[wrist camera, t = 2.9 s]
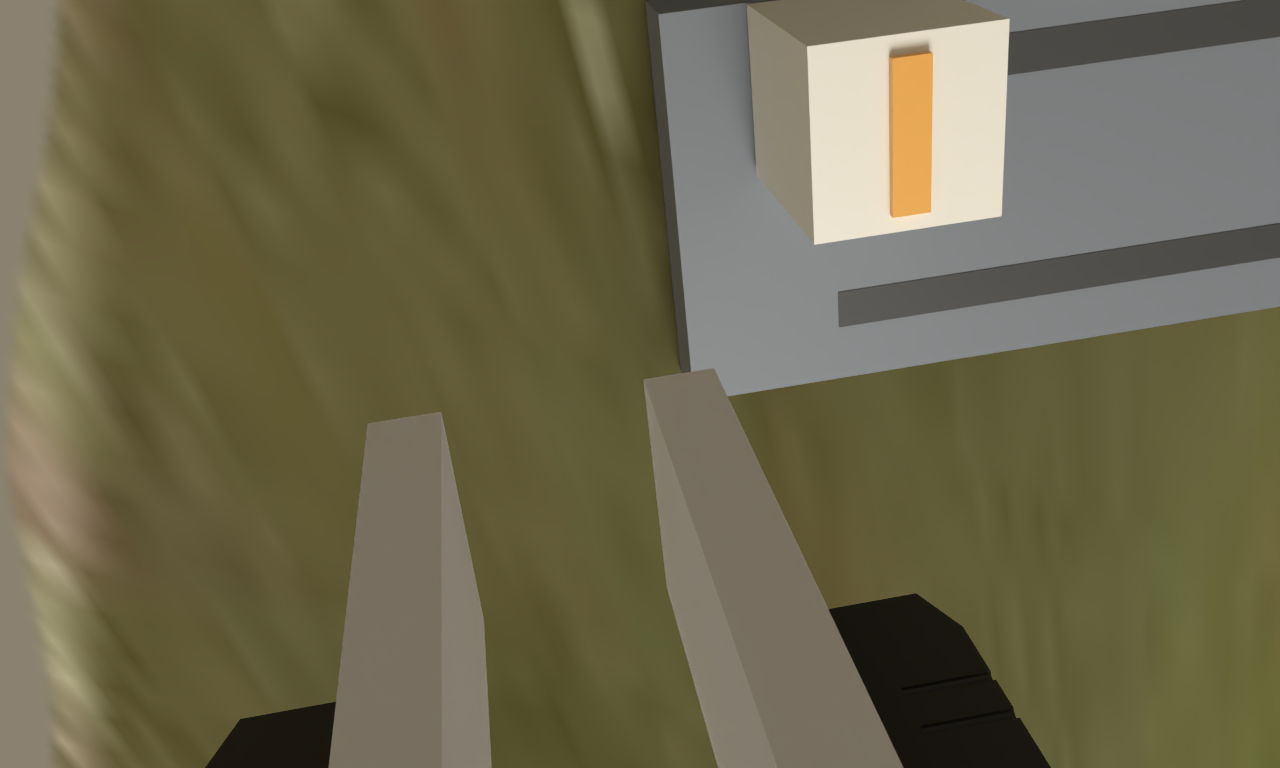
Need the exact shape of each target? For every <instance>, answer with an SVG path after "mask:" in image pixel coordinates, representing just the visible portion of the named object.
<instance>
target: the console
mask: <svg viewBox="0 0 1280 768" xmlns="http://www.w3.org/2000/svg"><path fill="white" fill-rule="evenodd" d="M768 1H775V0H645V7H646V17H647V28H648V38H649V49H650V59H651V69H652V80H653V90H654V100H655V111H656V121H657V131H658V142H659V152H660V163H661V173H662V183H663V194H664V204H665V214H666V225H667V235H668V245H669V256H670V266H671V277H672V287H673V297H674V308H675V318H676V328H677V339H678V349H679V359H680V369H681V372H682V373H687V372H693V371H699V370H705V369H712V368H714V369H715V371H716V374H717V376H718V378H719V380H720V382H721V384H722V386H723V388H724V390H725V392H726V395H727V396H732V395H738V394H744V393H750V392H757V391H763V390H769V389H775V388H781V387H787V386H793V385H800V384H806V383H812V382H818V381H824V380H830V379H837V378H843V377H849V376H855V375H861V374H867V373H873V372H880V371H886V370H892V369H898V368H904V367H910V366H916V365H923V364H929V363H935V362H941V361H947V360H953V359H960V358H966V357H972V356H978V355H984V354H990V353H996V352H1003V351H1009V350H1015V349H1021V348H1027V347H1033V346H1040V345H1046V344H1052V343H1058V342H1064V341H1070V340H1076V339H1083V338H1089V337H1095V336H1101V335H1107V334H1113V333H1119V332H1126V331H1132V330H1138V329H1144V328H1150V327H1156V326H1163V325H1169V324H1175V323H1181V322H1187V321H1193V320H1199V319H1206V318H1212V317H1218V316H1224V315H1230V314H1236V313H1242V312H1249V311H1255V310H1261V309H1267V308H1273V307H1279V306H1280V0H964V1H967V2H969V3H972V4H974V5H977V6H979V7H982V8H984V9H987V10H989V11H992V12H994V13H997V14H999V15H1002V16H1004V17H1007V18H1009V19H1010V22H1009V47H1008V72H1007V97H1006V121H1005V146H1004V171H1003V196H1002V216H1000V217H994V218H987V219H981V220H974V221H967V222H961V223H954V224H948V225H941V226H935V227H928V228H922V229H915V230H908V231H902V232H895V233H889V234H882V235H876V236H869V237H862V238H856V239H849V240H843V241H836V242H830V243H823V244H816V245H814V244H813V243H812V241H811V240H810V239H809V238H808V237H807V235H806V234H805V233H804V232H803V230H802V229H801V228H800V227H799V226H798V224H797V223H796V222H795V221H794V220H793V218H792V217H791V216H790V215H789V213H788V212H787V211H786V210H785V209H784V207H783V206H782V205H781V204H780V203H779V201H778V200H777V199H776V198H775V196H774V195H773V194H772V193H771V192H770V190H769V189H768V188H767V187H766V186H765V184H764V183H763V182H762V181H761V179H760V178H759V177H758V176H757V173H756V156H755V138H754V121H753V104H752V87H751V70H750V53H749V36H748V19H747V4H753V3H760V2H768Z"/></svg>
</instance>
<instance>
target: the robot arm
mask: <svg viewBox="0 0 1280 768" xmlns="http://www.w3.org/2000/svg"><path fill="white" fill-rule="evenodd" d="M643 380H644V389H645V397H646V406H647V415H648V424H649V433H650V442H651V450H652V459H653V468H654V477H655V486H656V495H657V504H658V512H659V521H660V530H661V539H662V548H663V557H664V565H665V574H666V583H667V590H668V593H669V597H670V600H671V604H672V607H673V611H674V614H675V618H676V621H677V625H678V628H679V632H680V635H681V639H682V642H683V646H684V649H685V653H686V656H687V660H688V663H689V667H690V670H691V674H692V677H693V681H694V684H695V688H696V691H697V695H698V698H699V702H700V705H701V709H702V713H703V716H704V720H705V723H706V727H707V730H708V734H709V737H710V741H711V744H712V748H713V751H714V755H715V758H716V762H717V765H718V768H1051V767H1050V766H1049V764H1048V762H1047V761H1046V759H1045V758H1044V756H1043V754H1042V753H1041V751H1040V750H1039V748H1038V746H1037V745H1036V743H1035V742H1034V740H1033V738H1032V737H1031V735H1030V734H1029V732H1028V730H1027V729H1026V727H1025V726H1024V724H1023V722H1022V721H1021V719H1020V718H1016V716H1015V714H1014V708H1013V706H1012V705H1011V703H1010V702H1009V700H1008V698H1007V697H1006V695H1005V694H1004V692H1003V690H1002V689H1001V687H1000V686H999V684H998V682H997V681H996V680H992V677H991V671H990V670H989V668H988V666H987V665H986V663H985V662H984V660H983V658H982V657H981V655H980V654H979V652H978V650H977V649H976V647H975V646H974V644H973V642H972V641H971V639H970V638H969V636H968V634H967V633H966V631H965V630H964V628H963V627H962V626H961V625H959V624H958V623H957V622H955V621H954V620H952V619H951V618H950V617H948V616H947V615H945V614H944V613H943V612H941V611H940V610H938V609H937V608H936V607H934V606H933V605H931V604H930V603H929V602H927V601H926V600H924V599H923V598H922V597H920V596H919V595H918V594H911V595H905V596H899V597H894V598H888V599H883V600H877V601H872V602H866V603H861V604H855V605H849V606H844V607H838V608H833V609H828V608H827V606H826V603H825V601H824V599H823V597H822V595H821V593H820V591H819V589H818V587H817V584H816V582H815V580H814V578H813V576H812V574H811V572H810V570H809V568H808V565H807V563H806V561H805V559H804V557H803V555H802V553H801V551H800V549H799V546H798V544H797V542H796V540H795V538H794V536H793V534H792V532H791V530H790V527H789V525H788V523H787V521H786V519H785V517H784V515H783V513H782V511H781V508H780V506H779V504H778V502H777V500H776V498H775V496H774V494H773V492H772V490H771V487H770V485H769V483H768V481H767V479H766V477H765V475H764V473H763V471H762V468H761V466H760V464H759V462H758V460H757V458H756V456H755V454H754V452H753V449H752V447H751V445H750V443H749V441H748V439H747V437H746V435H745V433H744V430H743V428H742V426H741V424H740V422H739V420H738V418H737V416H736V414H735V411H734V409H733V407H732V405H731V403H730V401H729V399H728V397H727V395H726V392H725V390H724V388H723V386H722V384H721V382H720V380H719V378H718V376H717V374H716V371H715V369H714V368H712V369H705V370H699V371H693V372H687V373H680V374H674V375H668V376H662V377H656V378H649V379H643ZM205 768H492V767H491V748H490V729H489V710H488V691H487V672H486V653H485V634H484V619H483V614H482V609H481V604H480V599H479V595H478V590H477V585H476V580H475V575H474V570H473V565H472V560H471V555H470V551H469V546H468V541H467V536H466V531H465V526H464V521H463V516H462V511H461V506H460V502H459V497H458V492H457V487H456V482H455V477H454V472H453V467H452V462H451V458H450V453H449V448H448V443H447V438H446V433H445V428H444V423H443V418H442V413H441V412H437V413H431V414H425V415H419V416H412V417H406V418H400V419H394V420H387V421H381V422H375V423H369V424H368V426H367V435H366V444H365V452H364V461H363V470H362V479H361V488H360V496H359V505H358V514H357V523H356V531H355V540H354V549H353V558H352V567H351V575H350V584H349V593H348V602H347V610H346V619H345V628H344V637H343V646H342V654H341V663H340V672H339V681H338V689H337V698H336V702H333V703H327V704H321V705H316V706H310V707H305V708H299V709H294V710H288V711H283V712H277V713H272V714H266V715H260V716H255V717H249V718H244V719H240V720H239V722H238V723H237V724H236V726H235V727H234V729H233V730H232V731H231V733H230V734H229V736H228V737H227V738H226V740H225V741H224V742H223V744H222V745H221V747H220V748H219V749H218V751H217V752H216V754H215V755H214V756H213V758H212V759H211V760H210V762H209V763H208V765H207V766H206V767H205Z"/></svg>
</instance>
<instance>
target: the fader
mask: <svg viewBox="0 0 1280 768" xmlns="http://www.w3.org/2000/svg"><path fill="white" fill-rule="evenodd" d="M747 19H748V36H749V53H750V70H751V87H752V104H753V121H754V138H755V156H756V173H757V176H758V177H759V178H760V179H761V181H762V182H763V183H764V184H765V186H766V187H767V188H768V189H769V190H770V192H771V193H772V194H773V195H774V196H775V198H776V199H777V200H778V201H779V203H780V204H781V205H782V206H783V207H784V209H785V210H786V211H787V212H788V213H789V215H790V216H791V217H792V218H793V220H794V221H795V222H796V223H797V224H798V226H799V227H800V228H801V229H802V230H803V232H804V233H805V234H806V235H807V237H808V238H809V239H810V240H811V241H812V243H813V244H814V245H816V244H823V243H830V242H836V241H843V240H849V239H856V238H862V237H869V236H876V235H882V234H889V233H895V232H902V231H908V230H915V229H922V228H928V227H935V226H941V225H948V224H954V223H961V222H967V221H974V220H981V219H987V218H994V217H1000V216H1002V196H1003V171H1004V146H1005V121H1006V97H1007V72H1008V47H1009V22H1010V19H1009V18H1007V17H1004V16H1002V15H999V14H997V13H994V12H992V11H989V10H987V9H984V8H982V7H979V6H977V5H974V4H972V3H969V2H967V1H964V0H775V1H768V2H760V3H753V4H747Z"/></svg>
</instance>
